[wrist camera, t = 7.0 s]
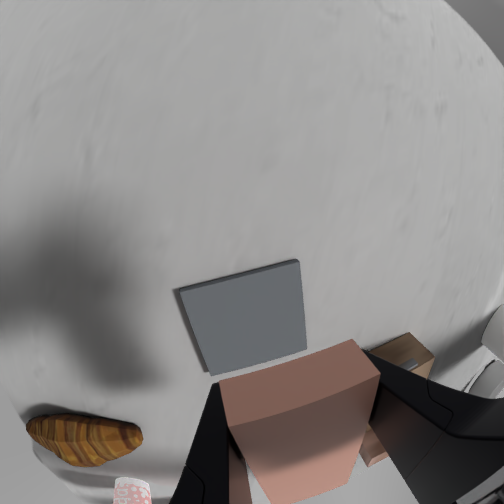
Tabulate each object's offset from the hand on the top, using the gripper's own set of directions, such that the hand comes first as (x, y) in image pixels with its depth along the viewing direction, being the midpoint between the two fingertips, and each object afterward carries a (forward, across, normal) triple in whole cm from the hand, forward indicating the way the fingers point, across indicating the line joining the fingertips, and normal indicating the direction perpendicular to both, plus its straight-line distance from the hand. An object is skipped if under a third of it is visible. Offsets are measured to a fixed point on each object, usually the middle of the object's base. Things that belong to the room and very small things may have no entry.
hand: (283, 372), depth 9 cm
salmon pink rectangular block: (-1, 0, +3) cm, 4 cm away
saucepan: (+8, -48, +41) cm, 63 cm away
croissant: (+8, +18, +12) cm, 23 cm away
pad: (+8, 0, +3) cm, 9 cm away
